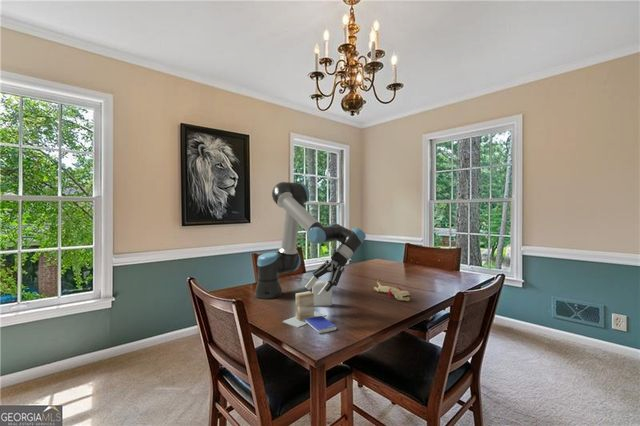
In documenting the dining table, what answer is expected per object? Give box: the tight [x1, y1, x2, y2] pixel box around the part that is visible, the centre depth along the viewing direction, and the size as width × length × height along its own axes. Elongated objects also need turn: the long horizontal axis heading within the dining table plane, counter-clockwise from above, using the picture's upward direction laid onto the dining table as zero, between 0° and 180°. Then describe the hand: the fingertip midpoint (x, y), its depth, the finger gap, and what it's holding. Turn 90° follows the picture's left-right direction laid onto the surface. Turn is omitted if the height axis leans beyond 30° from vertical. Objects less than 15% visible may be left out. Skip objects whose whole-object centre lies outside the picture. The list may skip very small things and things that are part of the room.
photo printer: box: [311, 280, 333, 307], centre depth 152 cm, size 10×4×12 cm, turn 90°
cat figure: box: [373, 278, 411, 302], centre depth 166 cm, size 10×9×25 cm
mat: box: [282, 310, 327, 329], centre depth 134 cm, size 10×18×1 cm, turn 138°
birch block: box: [295, 290, 315, 321], centre depth 134 cm, size 4×7×11 cm, turn 118°
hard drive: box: [305, 316, 337, 334], centre depth 125 cm, size 2×8×12 cm
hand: (313, 292), depth 135 cm, fingers open, 13 cm apart
